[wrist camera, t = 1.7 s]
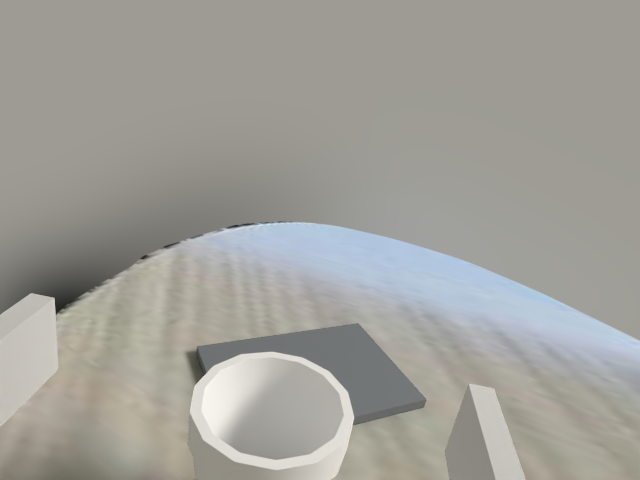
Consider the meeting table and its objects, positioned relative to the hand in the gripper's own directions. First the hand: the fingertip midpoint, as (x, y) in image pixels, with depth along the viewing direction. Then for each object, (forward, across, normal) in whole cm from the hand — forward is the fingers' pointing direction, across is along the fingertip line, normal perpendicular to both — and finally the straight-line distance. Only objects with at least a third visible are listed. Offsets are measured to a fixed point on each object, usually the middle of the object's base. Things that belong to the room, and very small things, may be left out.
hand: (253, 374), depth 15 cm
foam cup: (+10, 0, -23) cm, 25 cm away
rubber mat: (+28, +1, -22) cm, 36 cm away
